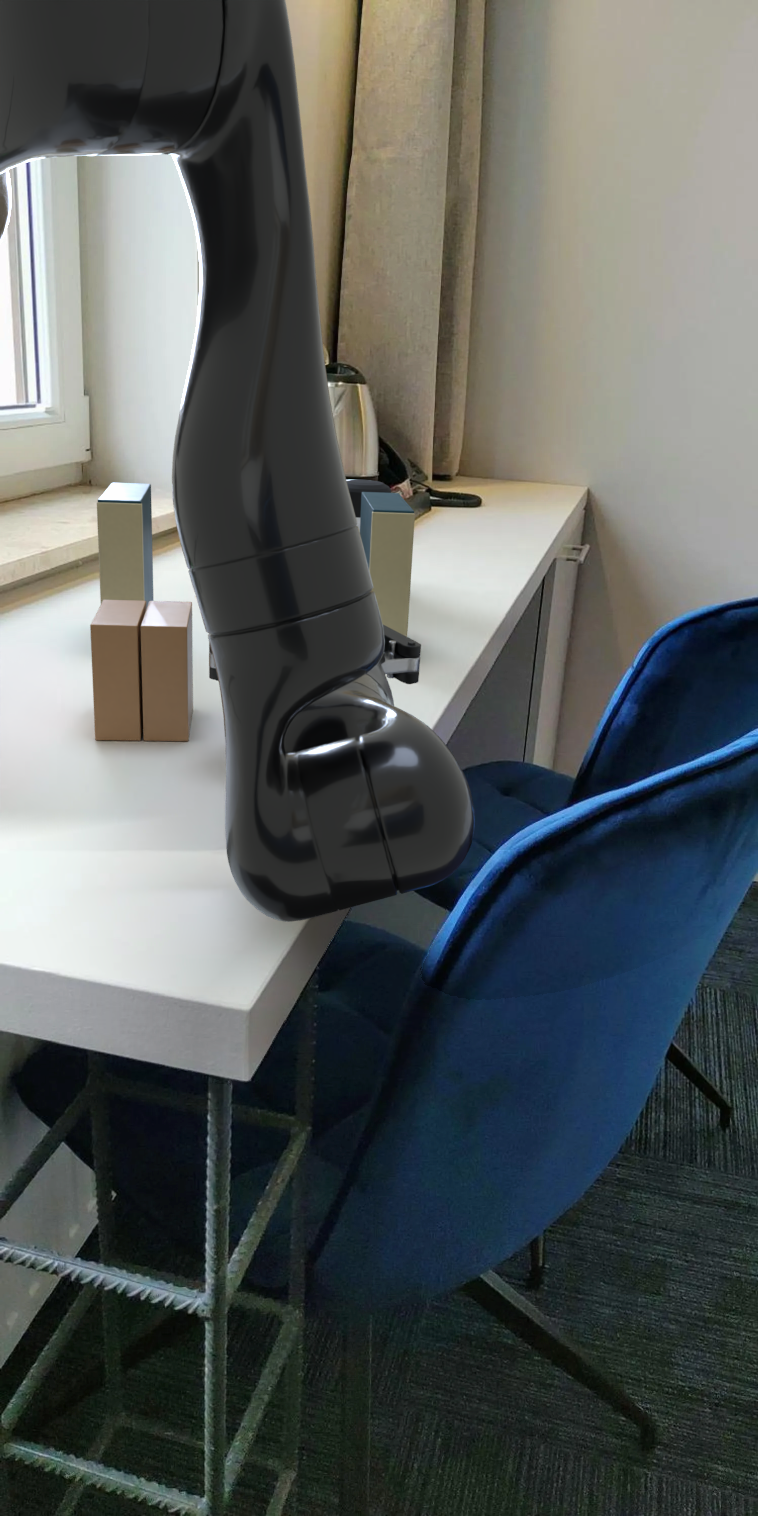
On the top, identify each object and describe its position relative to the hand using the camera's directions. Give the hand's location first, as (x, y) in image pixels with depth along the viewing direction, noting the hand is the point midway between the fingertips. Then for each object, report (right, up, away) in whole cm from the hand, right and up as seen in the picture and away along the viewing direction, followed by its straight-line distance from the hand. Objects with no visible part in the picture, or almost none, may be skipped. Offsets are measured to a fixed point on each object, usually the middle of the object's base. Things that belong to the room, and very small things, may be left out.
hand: (307, 622), depth 78 cm
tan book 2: (-10, -7, 0) cm, 12 cm away
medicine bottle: (+3, +8, +40) cm, 41 cm away
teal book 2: (+5, 0, +22) cm, 22 cm away
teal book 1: (-17, +1, +19) cm, 25 cm away
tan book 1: (-13, -7, 0) cm, 15 cm away
